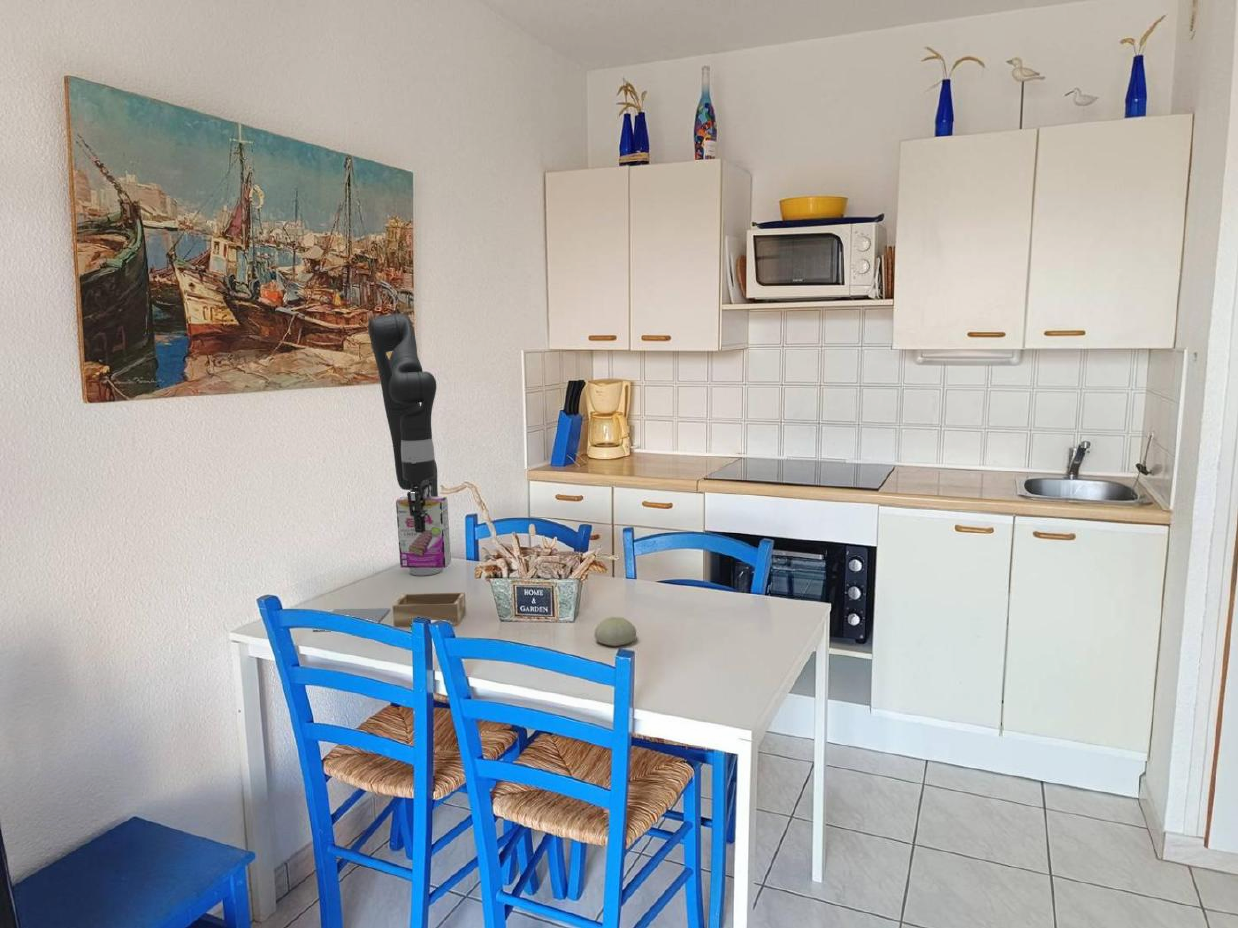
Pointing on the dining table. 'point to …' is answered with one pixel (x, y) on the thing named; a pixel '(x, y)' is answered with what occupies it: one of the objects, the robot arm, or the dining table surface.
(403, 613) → the caddy
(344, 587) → the dining table surface
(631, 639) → the sea urchin shell
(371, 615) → the coaster
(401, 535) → the candy bar box
